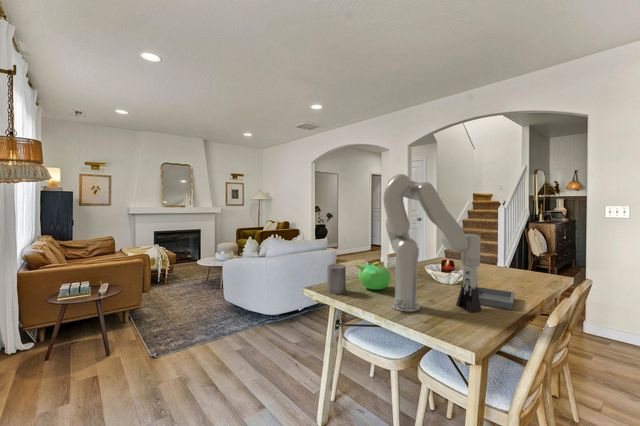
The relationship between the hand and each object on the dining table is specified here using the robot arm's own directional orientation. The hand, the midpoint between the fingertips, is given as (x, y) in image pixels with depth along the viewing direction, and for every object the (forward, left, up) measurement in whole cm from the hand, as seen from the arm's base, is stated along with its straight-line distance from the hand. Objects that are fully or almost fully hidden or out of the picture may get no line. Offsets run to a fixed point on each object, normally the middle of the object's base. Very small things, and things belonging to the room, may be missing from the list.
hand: (468, 301), depth 136 cm
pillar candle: (-13, +62, -3) cm, 63 cm away
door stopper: (0, 0, -3) cm, 3 cm away
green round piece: (+3, +48, -3) cm, 48 cm away
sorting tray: (+18, -7, -3) cm, 20 cm away
